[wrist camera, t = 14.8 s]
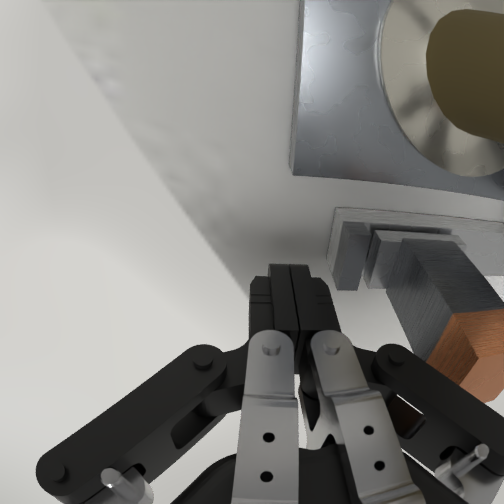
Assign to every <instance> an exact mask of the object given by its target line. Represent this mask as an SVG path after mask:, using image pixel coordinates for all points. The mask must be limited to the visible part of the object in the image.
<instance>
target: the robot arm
mask: <svg viewBox="0 0 504 504" xmlns="http://www.w3.org/2000/svg"><path fill="white" fill-rule="evenodd" d="M294 374H299V376H300V385H299V389H298V394H299V399H300V404H301V409H302V414H303V418H304V423H305V428H306V433H307V447H306V449H303V448H299V439H298V438H299V435H298V434H299V433H298V400H297V398H295V391H294ZM397 394H398V395H399V396H400V397H402V398H403V399H404V400H406V401H407V402H409V403H410V404H411V405H413V406H414V407H415V408H417V409H418V410H419V411H421V412H422V413H423V414H424V415H423V414H421V413H420V412H418V411H417V410H415V409H414V408H413V407H411V406H410V405H409V404H407V403H406V402H405V401H403V400H402V399H401V398H399V397H398V396H397ZM238 410H241V420H240V429H239V439H238V447H237V453H236V454H233V455H230V456H227V457H225V458H223V459H220V460H218V461H217V462H215V463H213V464H212V465H211V466H209V467H208V468H207V469H206V470H205V471H203V472H202V473H201V474H200V475H199V477H197V479H196V480H194V482H192V483H191V484H190V485H189V486H188V487H187V488H186V489H185V490H184V491H183V492H182V493H181V494H180V495H179V496H178V497H177V498H176V499H175V500H174V501H173V502H172V503H170V504H491V503H492V501H493V500H494V498H495V496H496V494H497V492H498V490H499V488H500V486H501V484H502V482H503V480H504V417H502V416H501V415H500V414H498V413H497V412H496V411H494V410H493V409H491V408H490V407H489V406H487V405H485V404H484V403H483V402H481V401H480V400H479V399H477V398H476V397H474V396H473V395H472V394H470V393H469V392H467V391H466V390H465V389H463V388H462V387H460V386H459V385H457V384H456V383H455V382H453V381H452V380H450V379H449V378H448V377H446V376H445V375H443V374H442V373H440V372H439V371H438V370H436V369H435V368H433V367H432V366H430V365H429V364H428V363H426V362H425V361H423V360H422V359H421V358H419V357H418V356H416V355H415V354H413V353H412V352H411V351H409V350H408V349H406V348H405V347H403V346H401V345H398V344H386V345H383V346H381V347H380V348H379V349H378V351H377V352H373V351H369V350H364V349H360V348H357V347H355V346H353V345H352V343H351V341H350V340H349V338H348V337H347V336H346V335H344V334H342V332H341V329H340V325H339V322H338V318H337V315H336V311H335V308H334V305H333V301H332V298H331V294H330V291H329V288H328V285H327V284H326V283H325V282H324V281H323V280H322V279H321V278H312V277H311V275H310V271H309V267H308V265H301V264H289V265H288V264H269V268H268V277H266V276H255V278H254V280H253V281H252V283H251V284H250V300H249V340H248V341H247V342H246V343H245V344H244V345H243V346H241V347H240V348H238V349H236V350H232V351H227V352H222V351H221V350H220V349H218V348H217V347H215V346H212V345H206V344H202V345H196V346H193V347H191V348H189V349H187V350H186V351H185V352H183V353H182V354H181V355H180V356H178V357H177V358H176V359H174V360H173V361H172V362H170V363H169V364H168V365H166V366H165V367H164V368H162V369H161V370H160V371H158V372H157V373H156V374H155V375H153V376H152V377H151V378H149V379H148V380H147V381H145V382H144V383H143V384H141V385H140V386H139V387H137V388H136V389H135V390H133V391H132V392H130V393H129V394H128V395H126V396H125V397H124V398H122V399H121V400H120V401H118V402H117V403H116V404H114V405H113V406H111V407H110V408H109V409H107V410H106V411H105V412H103V413H102V414H100V415H99V416H98V417H96V418H95V419H93V420H92V421H91V422H89V423H88V424H86V425H85V426H84V427H82V428H81V429H80V430H78V431H77V432H75V433H74V434H72V435H71V436H70V437H68V438H67V439H65V440H64V441H62V442H61V443H60V444H58V445H57V446H55V447H54V448H52V449H51V450H49V451H48V452H47V453H45V454H44V455H43V456H42V457H41V458H40V459H39V461H38V463H37V466H36V477H37V480H38V483H39V484H40V486H41V487H42V488H43V489H44V490H45V491H46V492H48V493H49V494H51V495H52V496H54V497H55V498H56V499H57V500H59V501H60V502H62V503H63V504H152V503H153V499H154V494H153V491H152V488H151V487H150V485H149V484H150V483H151V482H152V481H153V480H155V479H156V478H157V477H158V476H159V475H161V474H162V473H163V472H164V471H165V470H166V469H168V468H169V467H170V466H171V465H172V464H173V463H175V462H176V461H177V460H178V459H179V458H180V457H181V456H182V455H184V454H185V453H186V452H187V451H188V450H189V449H191V448H192V447H193V446H194V445H195V444H196V443H197V442H198V441H199V440H200V439H201V438H203V437H204V436H205V435H206V434H207V433H208V432H209V431H210V430H211V429H212V428H213V427H214V426H216V425H217V423H218V422H220V421H221V420H222V419H223V418H224V417H225V415H226V414H227V413H230V412H234V411H238ZM401 448H402V449H404V450H405V451H406V452H407V453H409V454H410V455H411V456H413V457H414V458H415V459H417V460H418V461H419V462H421V463H422V464H423V465H425V466H426V467H427V468H429V469H430V470H431V471H433V472H434V473H435V477H434V476H433V475H432V474H431V473H429V472H428V471H427V470H425V469H424V468H423V467H422V466H420V465H419V464H418V463H417V462H416V461H415V460H413V459H412V458H411V457H409V456H408V455H407V454H406V453H404V452H402V449H401Z"/></svg>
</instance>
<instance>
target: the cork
mask: <svg viewBox="0 0 504 504" xmlns="http://www.w3.org/2000/svg"><path fill="white" fill-rule="evenodd" d="M426 69H427V78H428V81H429V84H430V88H431V91H432V95H433V98H434V99H435V101H436V103H437V104H438V106H439V108H440V109H441V111H442V113H443V115H444V116H445V117H446V118H447V119H448V120H449V121H450V122H451V123H452V124H453V125H454V126H455V127H456V128H458V129H460V130H462V131H464V132H466V133H469V134H471V135H474V136H478V137H482V138H485V139H489V140H493V141H496V142H500V143H503V144H504V14H500V13H494V12H488V11H480V10H472V9H462V10H455V11H451V12H450V13H448V14H447V15H445V16H444V17H442V18H441V19H439V20H438V22H437V24H436V25H435V27H434V28H433V30H432V32H431V33H430V36H429V41H428V45H427V50H426Z"/></svg>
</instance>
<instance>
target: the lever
mask: <svg viewBox="0 0 504 504" xmlns="http://www.w3.org/2000/svg"><path fill="white" fill-rule="evenodd" d="M466 247H467V245H466V244H465V243H464V242H463V240H462V239H461V238H460V237H459V236H458V235H446V234H432V233H417V232H402V231H385V230H374V234H373V238H372V242H371V246H370V250H369V254H368V258H367V262H366V265H365V269H364V273H363V278H364V280H365V282H366V285H367V287H368V288H387V289H386V294H387V296H388V298H389V300H390V302H391V304H392V306H393V308H394V310H395V312H396V315H397V317H398V319H399V321H400V323H401V325H402V328H403V330H404V332H405V334H406V337H407V339H408V341H409V343H410V346H411V348H412V350H413V353H414V354H415V355H416V356H418V357H419V358H421V359H422V360H423V361H425V362H426V363H428V364H429V365H430V366H432V367H433V368H435V369H436V370H438V371H439V372H440V373H442V374H443V375H445V376H446V377H448V378H449V379H450V380H452V381H453V382H455V383H456V384H457V385H459V386H460V387H462V388H463V389H465V390H466V391H467V392H469V393H470V394H472V395H473V396H474V397H476V398H477V399H479V400H480V401H481V402H483V403H486V402H489V401H492V400H494V399H495V398H496V397H497V396H498V395H499V394H500V393H501V391H502V390H503V389H504V302H503V301H502V299H501V298H500V297H499V295H498V294H497V293H496V291H495V290H494V289H493V288H492V286H491V285H490V284H489V282H488V281H487V280H486V279H485V277H484V276H483V275H482V274H481V272H480V271H479V270H478V269H477V268H476V266H475V265H474V264H473V263H472V262H471V260H470V259H469V258H468V257H467V256H466V254H465V250H466Z"/></svg>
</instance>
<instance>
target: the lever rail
mask: <svg viewBox="0 0 504 504" xmlns="http://www.w3.org/2000/svg"><path fill="white" fill-rule="evenodd" d="M374 230H385V231H402V232H417V233H432V234H446V235H458V236H459V237H460V238H461V239H462V240H463V242H464V243H465V244H466V245H467V247H466V250H465V254H466V256H467V257H468V258H469V259H470V260H471V262H472V263H473V264H474V265H475V266H476V268H477V269H478V270H479V271H480V272H481V274H482V275H483V276H504V223H499V222H492V221H484V220H475V219H467V218H458V217H448V216H439V215H429V214H418V213H407V212H396V211H384V210H371V209H357V208H342V207H336V208H335V214H334V220H333V226H332V231H331V237H330V242H329V248H328V253H327V261H328V264H329V267H330V270H331V273H332V276H333V279H334V282H335V285H336V288H337V290H357V289H358V285H359V282H360V278H361V276H363V273H364V269H365V265H366V262H367V258H368V254H369V250H370V246H371V242H372V238H373V234H374Z"/></svg>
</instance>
